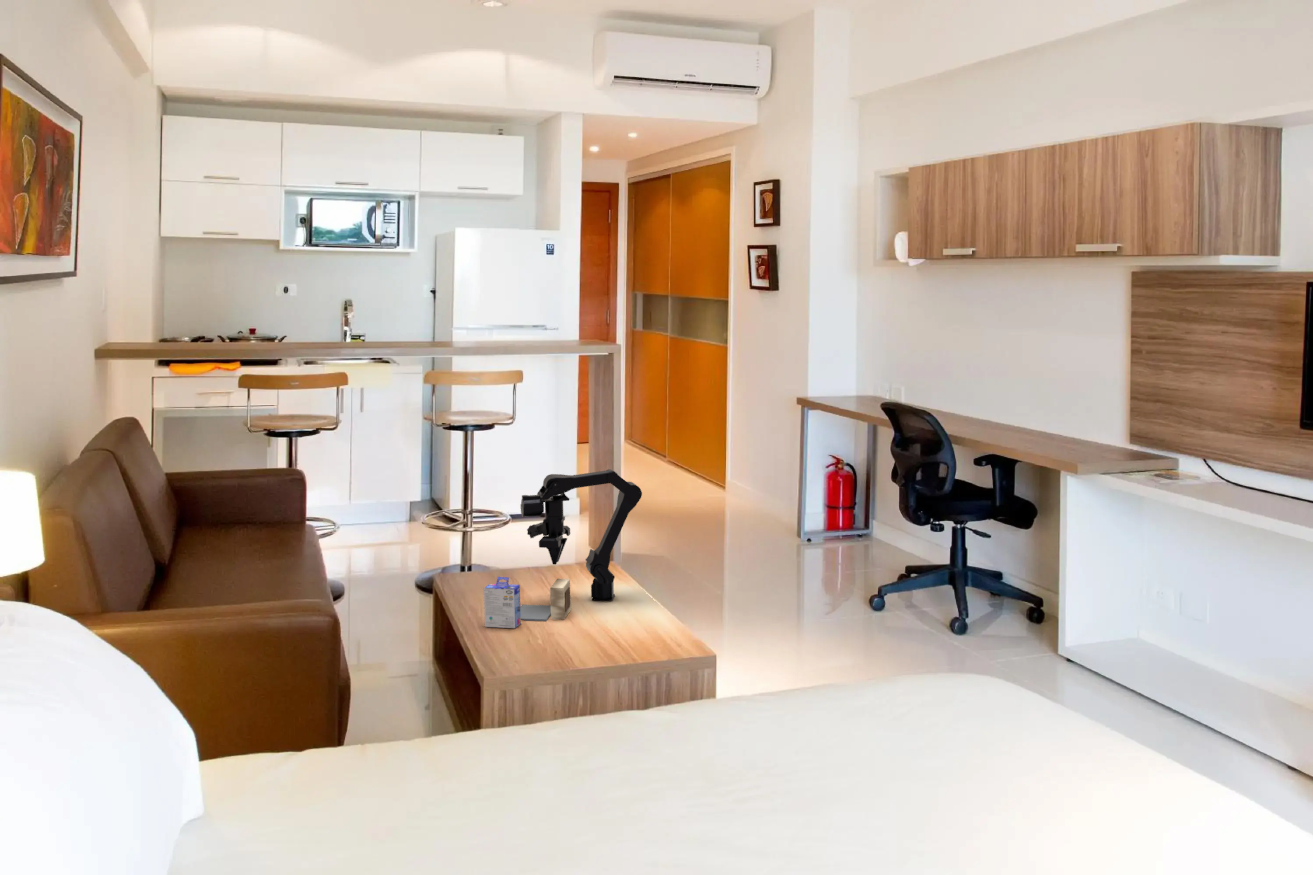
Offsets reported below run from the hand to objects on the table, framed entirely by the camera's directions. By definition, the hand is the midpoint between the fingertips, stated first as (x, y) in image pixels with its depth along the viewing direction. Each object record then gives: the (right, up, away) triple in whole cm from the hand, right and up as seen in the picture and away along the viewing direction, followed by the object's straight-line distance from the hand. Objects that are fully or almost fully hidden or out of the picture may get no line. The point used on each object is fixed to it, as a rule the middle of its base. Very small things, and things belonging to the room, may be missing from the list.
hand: (555, 562), depth 369 cm
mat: (-6, -15, -9) cm, 18 cm away
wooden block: (+3, -15, -10) cm, 18 cm away
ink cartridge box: (-14, -17, -20) cm, 30 cm away
